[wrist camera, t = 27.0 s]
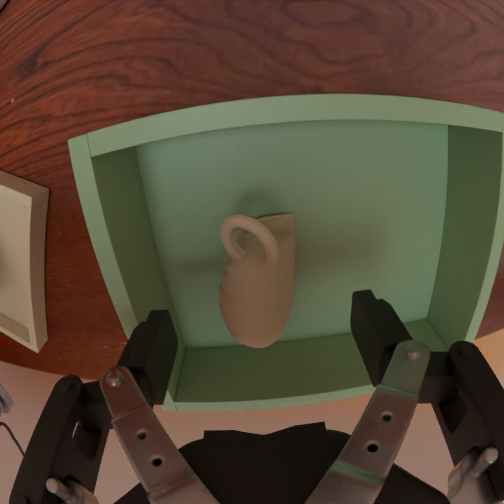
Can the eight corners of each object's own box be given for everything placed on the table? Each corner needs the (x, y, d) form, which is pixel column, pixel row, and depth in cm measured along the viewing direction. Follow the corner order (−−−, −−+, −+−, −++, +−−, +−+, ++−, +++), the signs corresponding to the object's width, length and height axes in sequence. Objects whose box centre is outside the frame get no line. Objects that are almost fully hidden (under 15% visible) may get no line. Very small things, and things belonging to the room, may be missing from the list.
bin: (179, 349, 22) (163, 410, 16) (123, 130, 15) (67, 140, 10) (428, 318, 21) (462, 368, 15) (449, 108, 14) (513, 115, 9)
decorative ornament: (225, 315, 19) (218, 377, 14) (222, 185, 16) (208, 217, 11) (288, 316, 19) (298, 377, 14) (299, 186, 16) (320, 219, 11)
